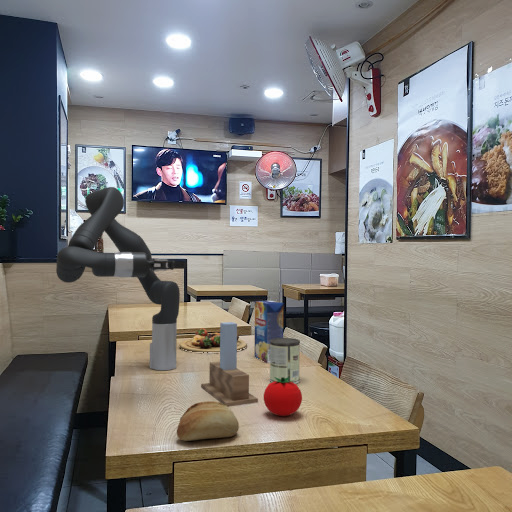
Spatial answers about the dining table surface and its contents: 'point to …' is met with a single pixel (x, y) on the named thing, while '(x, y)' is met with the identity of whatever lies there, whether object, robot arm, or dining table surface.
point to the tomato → (282, 397)
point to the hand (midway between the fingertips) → (182, 264)
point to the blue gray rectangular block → (228, 346)
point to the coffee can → (284, 359)
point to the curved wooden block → (229, 386)
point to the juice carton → (267, 327)
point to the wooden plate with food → (207, 342)
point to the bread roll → (207, 422)
